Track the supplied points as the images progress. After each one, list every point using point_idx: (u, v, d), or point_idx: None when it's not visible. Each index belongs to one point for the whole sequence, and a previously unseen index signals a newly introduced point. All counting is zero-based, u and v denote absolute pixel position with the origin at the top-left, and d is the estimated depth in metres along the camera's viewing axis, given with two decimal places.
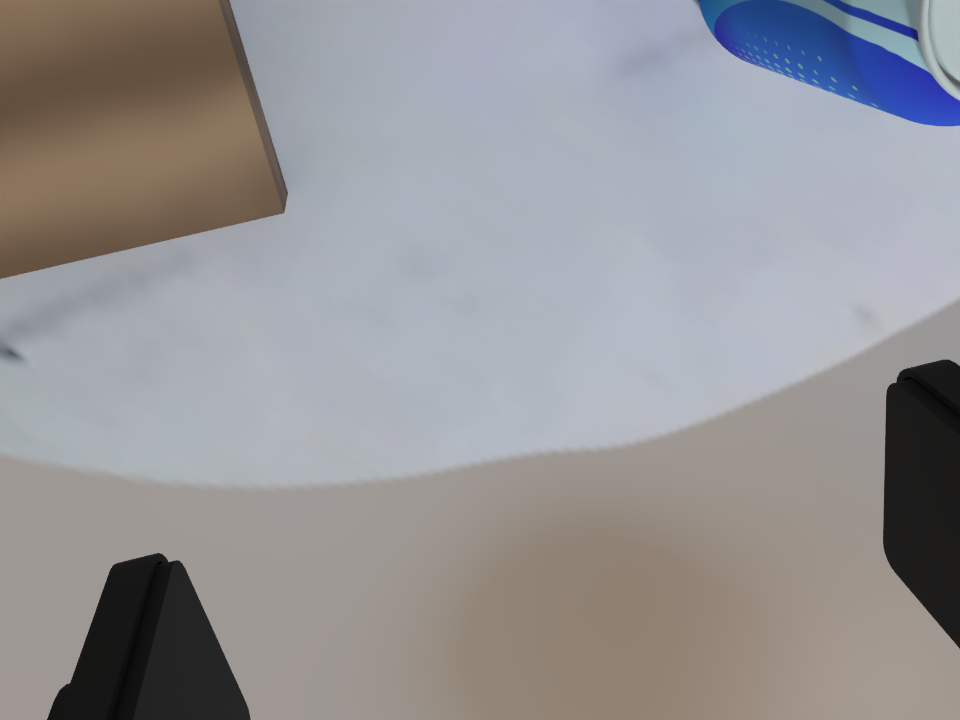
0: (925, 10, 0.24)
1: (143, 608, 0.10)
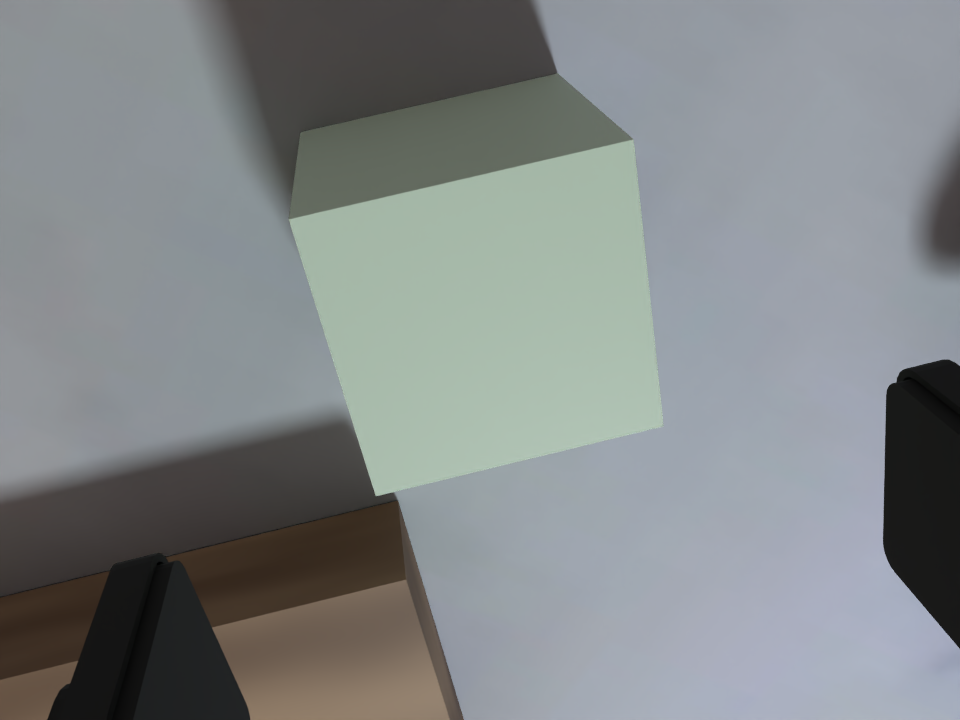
0: None
1: (143, 608, 0.10)
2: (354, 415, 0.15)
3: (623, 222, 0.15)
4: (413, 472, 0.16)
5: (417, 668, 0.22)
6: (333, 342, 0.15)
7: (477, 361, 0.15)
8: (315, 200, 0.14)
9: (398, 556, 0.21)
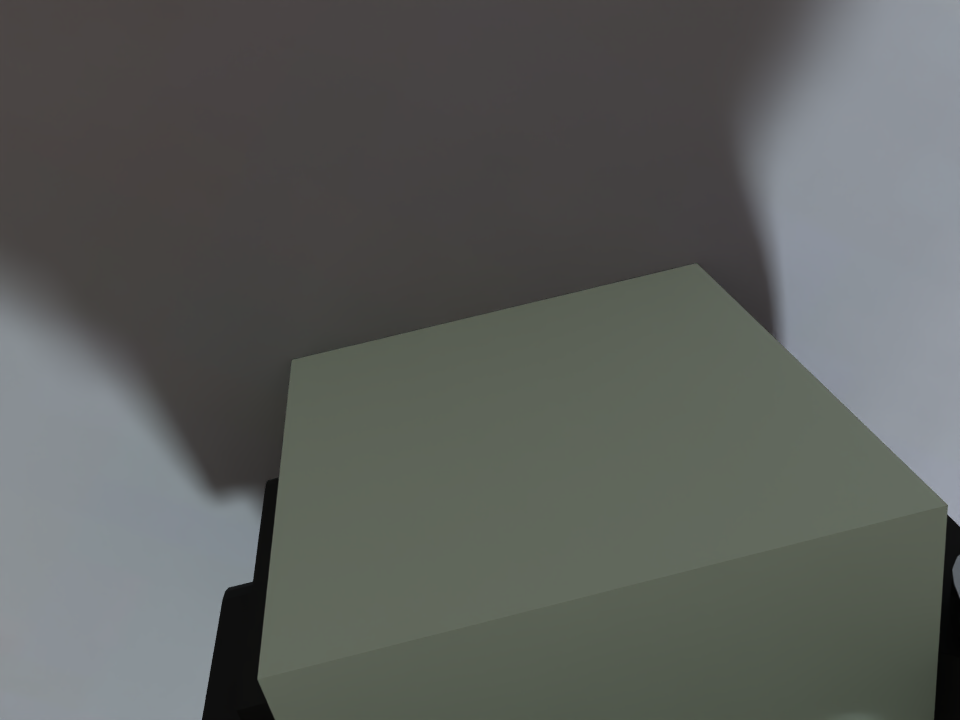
0: None
1: None
2: None
3: (905, 637, 0.08)
4: None
5: None
6: None
7: None
8: (312, 607, 0.07)
9: None
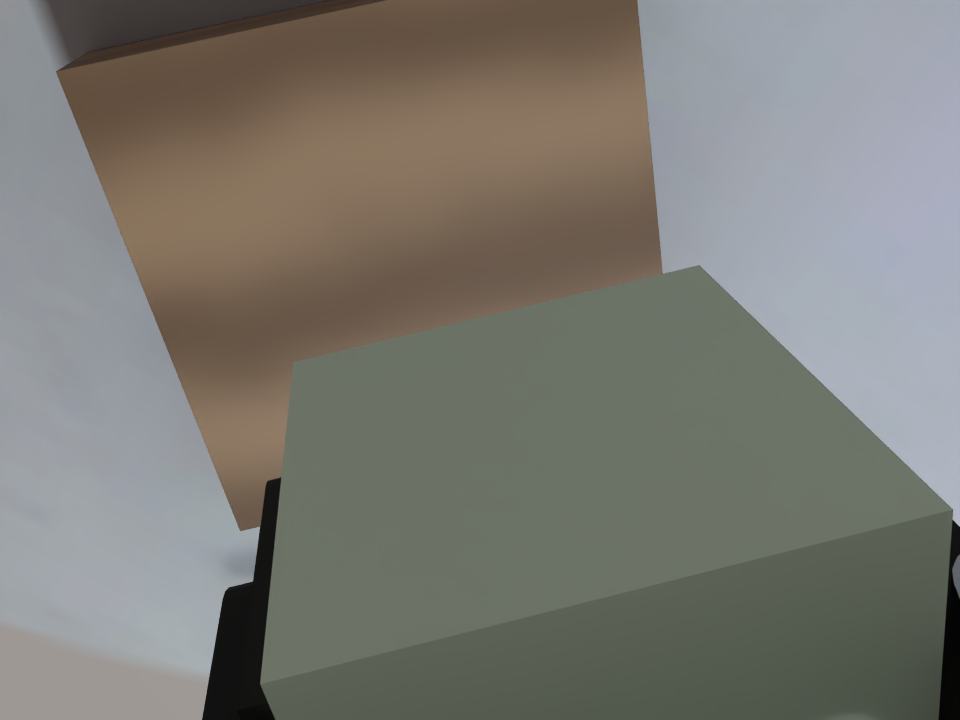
0: None
1: None
2: None
3: (909, 642, 0.08)
4: None
5: (628, 72, 0.23)
6: None
7: None
8: (314, 611, 0.07)
9: None
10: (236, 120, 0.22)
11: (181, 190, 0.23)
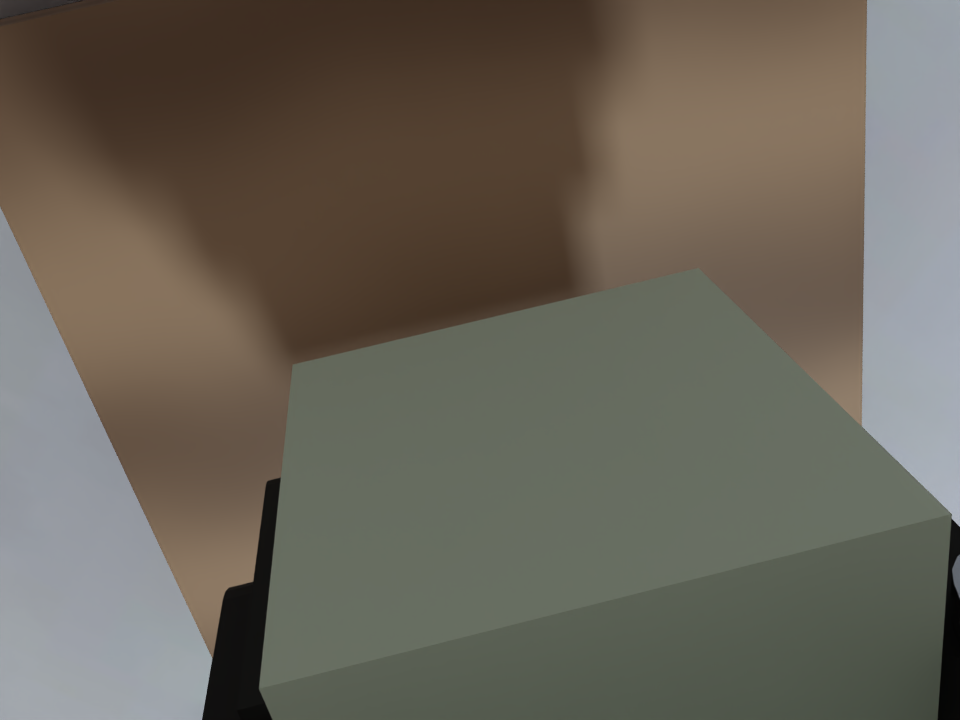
0: None
1: None
2: None
3: (908, 646, 0.08)
4: None
5: (843, 40, 0.14)
6: None
7: None
8: (313, 615, 0.07)
9: None
10: (224, 122, 0.14)
11: (138, 233, 0.14)
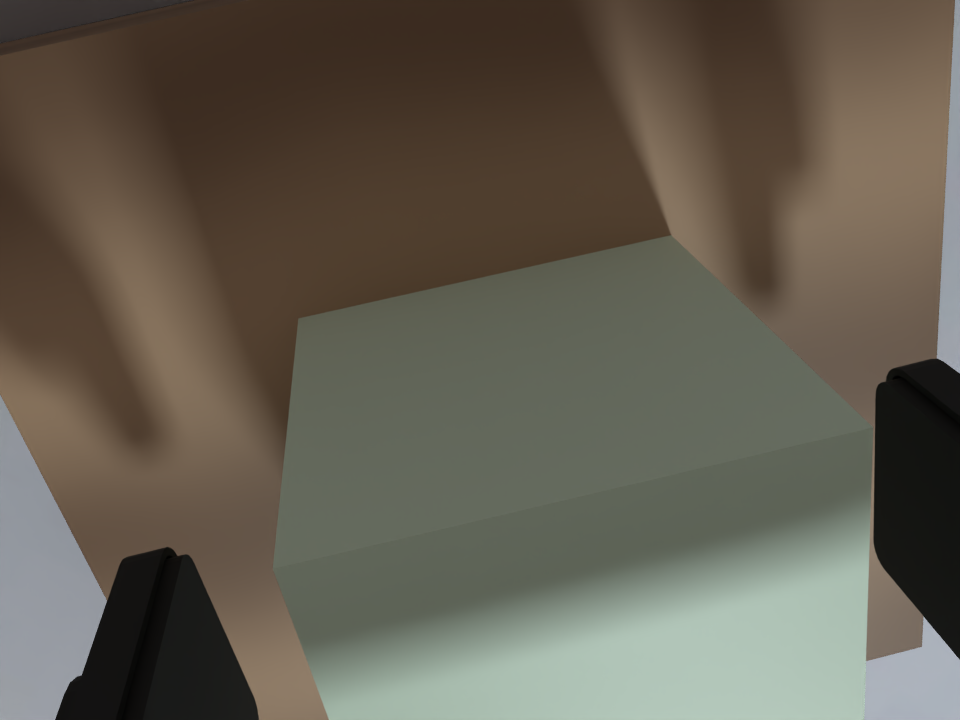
0: None
1: (153, 601, 0.10)
2: None
3: (839, 548, 0.09)
4: None
5: (924, 80, 0.12)
6: None
7: None
8: (319, 513, 0.08)
9: None
10: (203, 180, 0.12)
11: (103, 306, 0.12)
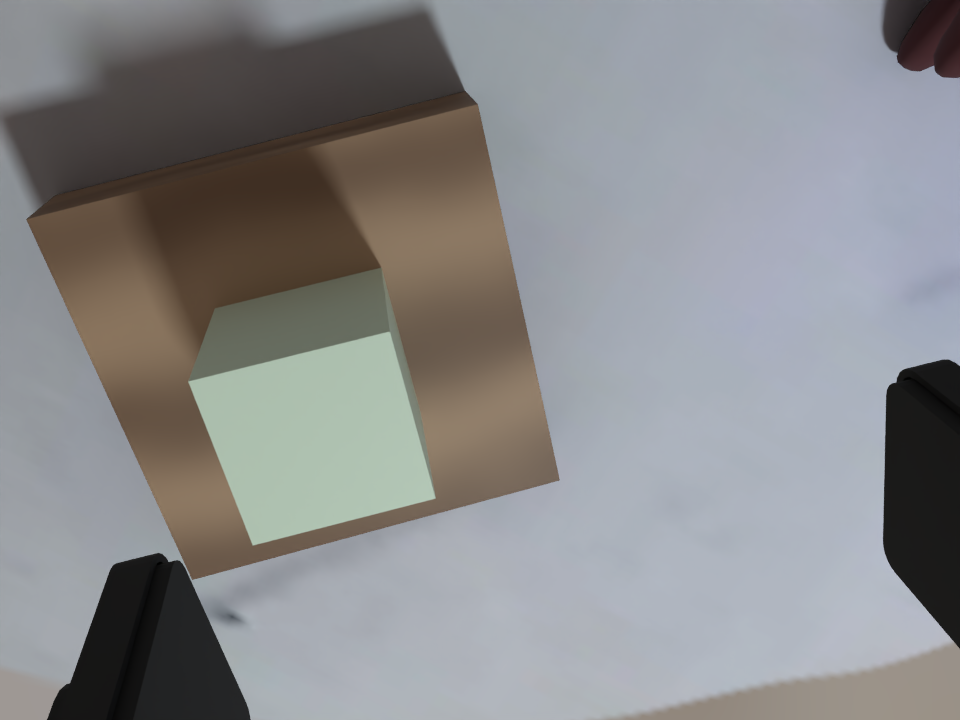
0: None
1: (143, 608, 0.10)
2: (235, 494, 0.25)
3: (390, 377, 0.24)
4: (275, 529, 0.26)
5: (485, 197, 0.28)
6: (219, 451, 0.25)
7: (310, 460, 0.25)
8: (206, 367, 0.24)
9: (470, 101, 0.28)
10: (170, 249, 0.28)
11: (129, 304, 0.28)
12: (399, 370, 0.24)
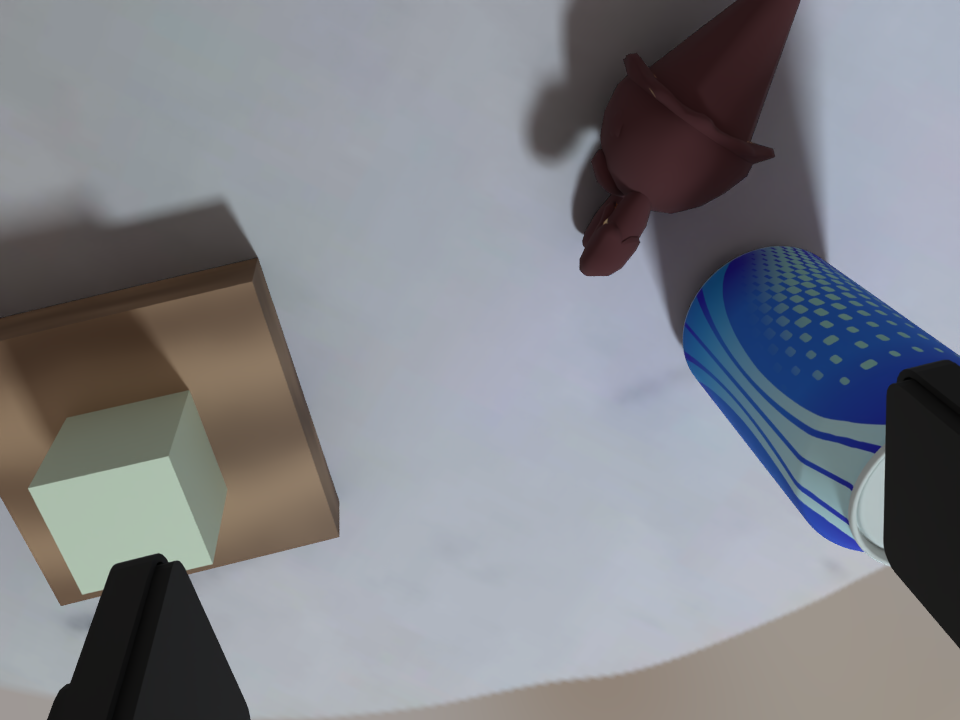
0: (854, 515, 0.31)
1: (143, 608, 0.10)
2: (66, 561, 0.36)
3: (171, 485, 0.35)
4: (97, 584, 0.37)
5: (263, 342, 0.39)
6: (53, 532, 0.35)
7: (119, 538, 0.36)
8: (43, 476, 0.35)
9: (251, 275, 0.39)
10: (31, 378, 0.38)
11: (2, 415, 0.39)
12: (178, 480, 0.35)
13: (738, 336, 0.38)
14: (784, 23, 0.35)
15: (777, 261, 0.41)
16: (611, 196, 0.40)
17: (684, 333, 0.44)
